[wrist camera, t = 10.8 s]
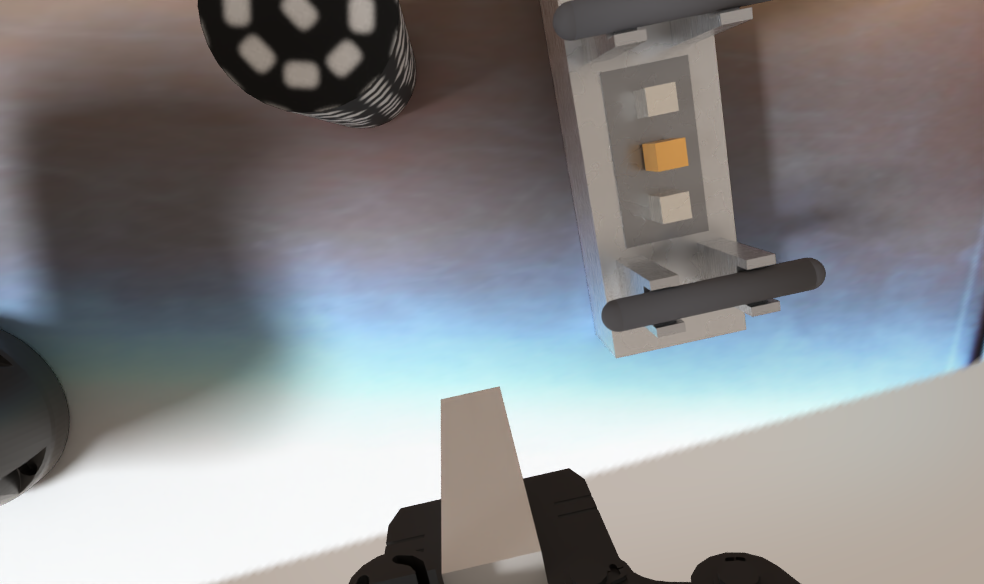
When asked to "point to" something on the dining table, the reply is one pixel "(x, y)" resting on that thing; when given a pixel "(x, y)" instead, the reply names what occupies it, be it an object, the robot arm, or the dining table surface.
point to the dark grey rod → (629, 14)
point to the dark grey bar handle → (713, 294)
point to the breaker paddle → (665, 154)
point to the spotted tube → (316, 55)
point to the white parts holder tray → (647, 194)
